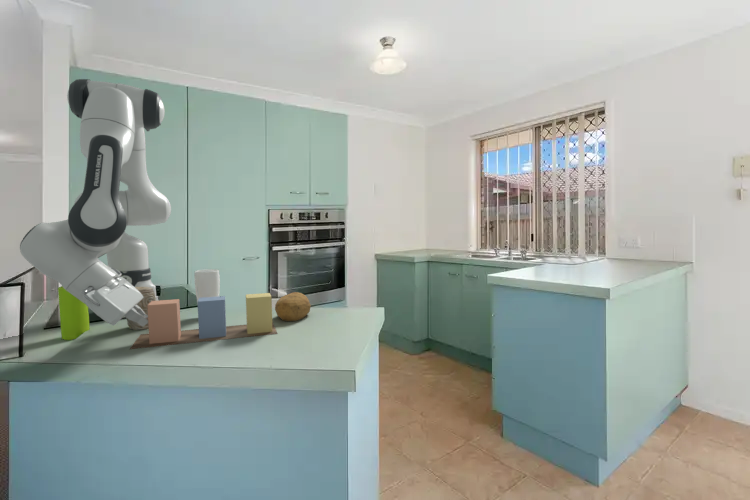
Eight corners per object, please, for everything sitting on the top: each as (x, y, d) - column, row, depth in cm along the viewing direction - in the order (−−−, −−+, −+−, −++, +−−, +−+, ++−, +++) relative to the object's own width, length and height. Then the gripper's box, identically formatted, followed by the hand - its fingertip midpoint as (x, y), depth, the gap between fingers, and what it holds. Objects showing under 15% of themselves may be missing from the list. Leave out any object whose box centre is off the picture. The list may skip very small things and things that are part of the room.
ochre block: (246, 328, 103) (245, 294, 102) (270, 326, 105) (269, 292, 104) (247, 334, 98) (246, 298, 98) (272, 331, 100) (271, 296, 100)
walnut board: (141, 340, 99) (140, 334, 99) (273, 327, 110) (272, 322, 110) (129, 355, 88) (129, 349, 88) (277, 339, 99) (277, 333, 98)
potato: (267, 328, 109) (266, 299, 108) (284, 315, 123) (283, 290, 122) (302, 328, 108) (301, 299, 108) (315, 316, 122) (314, 290, 122)
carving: (127, 331, 107) (124, 287, 106) (158, 327, 111) (156, 284, 110) (125, 337, 102) (123, 291, 101) (159, 333, 105) (157, 288, 104)
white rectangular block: (212, 324, 113) (210, 272, 112) (191, 323, 115) (189, 271, 113) (225, 318, 120) (224, 269, 119) (205, 317, 121) (203, 268, 120)
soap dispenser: (70, 333, 106) (64, 258, 104) (95, 333, 105) (90, 258, 104) (51, 340, 100) (45, 260, 98) (78, 340, 100) (72, 260, 98)
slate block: (200, 333, 99) (199, 297, 99) (226, 330, 101) (224, 296, 101) (199, 338, 95) (197, 301, 94) (226, 336, 97) (224, 299, 96)
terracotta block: (153, 337, 96) (151, 301, 95) (181, 335, 98) (179, 299, 97) (149, 343, 91) (147, 305, 90) (178, 341, 93) (176, 303, 93)
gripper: (91, 280, 80) (149, 323, 84) (118, 268, 99) (164, 304, 103) (66, 303, 79) (125, 346, 83) (98, 287, 98) (145, 322, 102)
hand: (147, 322), depth 93 cm, fingers closed, pressing on terracotta block
